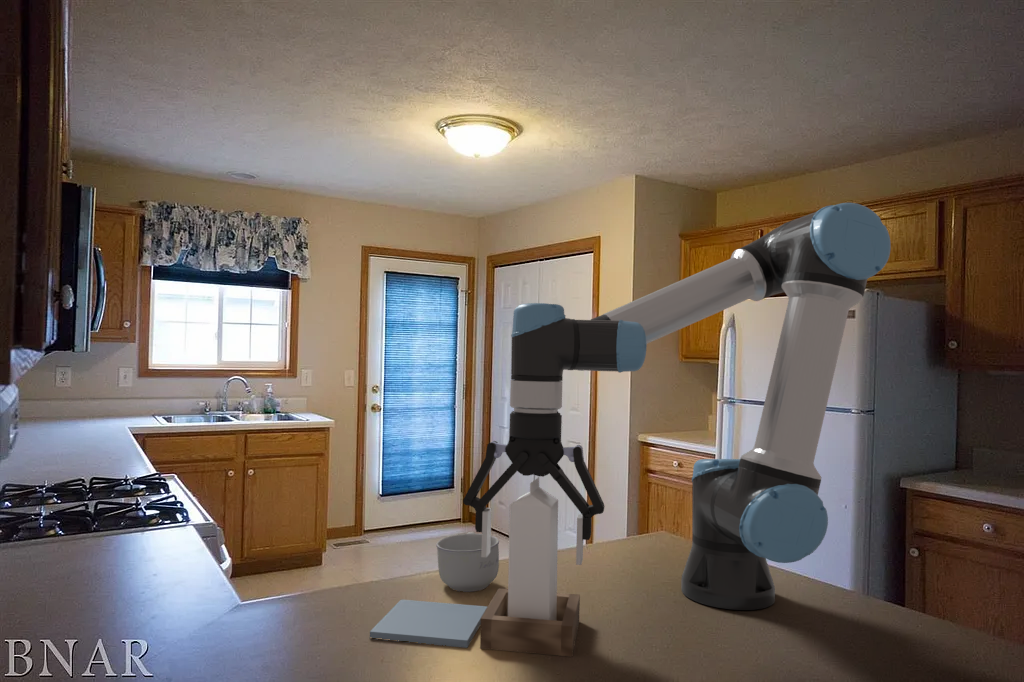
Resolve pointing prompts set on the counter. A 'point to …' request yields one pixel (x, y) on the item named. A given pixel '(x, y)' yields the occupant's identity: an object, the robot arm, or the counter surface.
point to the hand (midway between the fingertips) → (532, 558)
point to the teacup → (467, 562)
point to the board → (430, 623)
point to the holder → (530, 627)
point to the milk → (533, 555)
